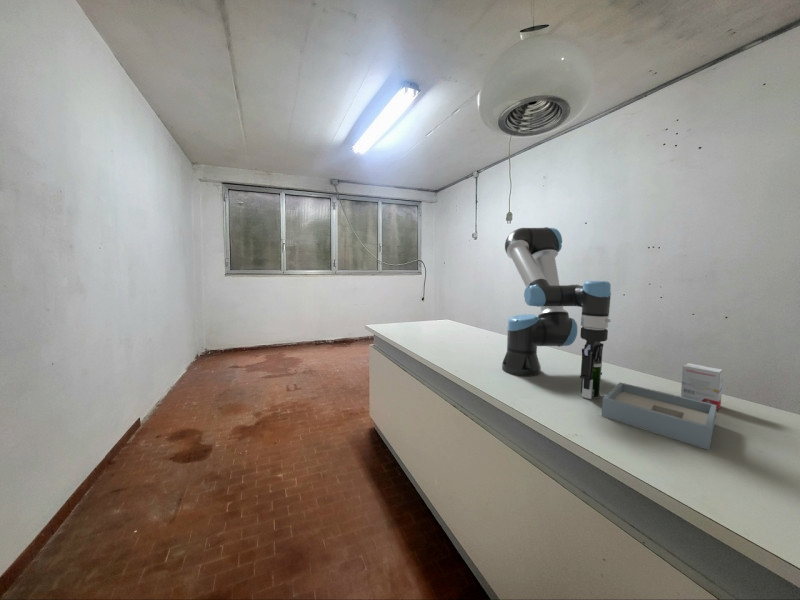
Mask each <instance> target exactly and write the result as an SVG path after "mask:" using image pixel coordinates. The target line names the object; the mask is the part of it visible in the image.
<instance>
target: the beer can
mask: <svg viewBox="0 0 800 600" xmlns="http://www.w3.org/2000/svg"><path fill="white" fill-rule="evenodd" d="M601 369H602V367H601V362H599V361H594V368H593V374H592V380H593V387H592V399H591V400H597V399H599V397H600V393H601V377H602V375H601V372H602V370H601ZM580 384H581V385H580V394H581V395H582V386H583V378H581V382H580Z"/></svg>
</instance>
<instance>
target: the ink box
mask: <svg viewBox="0 0 800 600" xmlns="http://www.w3.org/2000/svg"><path fill="white" fill-rule="evenodd" d="M681 373H682V374H681V388H680V389H681V390H680V397H684V398H689V399H693V400H697V401H701V402H706V403H710V404H714V405H717V406H716V410H719V409H720V407H721V404H722V395H723V393H722V392H723V383H724V369H721V368H715V367H710V366H705V365H702V364H695V363H689V362H687V363H685V364H684V365H682V372H681Z"/></svg>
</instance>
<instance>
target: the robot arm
mask: <svg viewBox="0 0 800 600" xmlns="http://www.w3.org/2000/svg"><path fill="white" fill-rule="evenodd" d="M562 243H563V237H562V234H561V232H560V231H559V230H558V229H557V228H555V227H548V226H545V227H520V228H519V227H518V228H517V229H515V230H513V231H512V232H511V233H509V235H508V236H507V238H506V239H505V243H504V251H505V253H506V255H507V257H508V258H509V259H512V261H513V263H514V265H515V268H516V270H517V272H518V274H519V275H520V278H521V280H522V281H523V284H524V285H525V289H524V293H523V297H524V302H525V304H526V305H527V306H529V307H538V308H540V312H539V313H538V315H536V314H525V313H524V314H519V315H518V314H517V315H513V316H511V317H510V318H509V319H508V321H507V329H506V330H507V340H506V342H507V344H506V353H505V355H504V357H503V361H502V363H501V368H502V370H503V372H505V373H507V374H508V373H509V374H512V375H514V376H515V375H516V376H519V377H535V376H538V375H541V364H540V361H539V357H538V354H537V353H538V347H566V346H571V345H572V344H574V342H575V340H576V339H577V336H578V324H577V321H576V320H575V319H574V318H571V317H570V316H569V312H568V311H567V310H565V309H564V307H580V308H581V318H580V320H581V321H580V325H581V327H580V339H582V340H585V341H586V342H585V344H584V345H583V346H584V347H583V348H581V366H580V367H581V368H580V375H579V378H580V379H582V378H583V386H582V394H581V397H583V398H585V399H588V400H593V399H592V387H593V380H592V374H593V368H594V361H599V362H601V376H603V372H602V365H603V364H602V363H603V351H604V342H606V341H607V340H608V336H609V335H608V334H609V330H608V329H607V328H608V327H609V323H611V319H609V317H610V316H609V315H610V306H611V296H612V290H611V283H610V282H609V281H606V280H603V281H602V280H586V281H584V282H583V285H579V284H566V285H563V284H561V285H560V280H559V279H560V278H559V274H558V268H557V260H556V257H558V255H559V252H560V251H561V250H562V247H563V245H562Z"/></svg>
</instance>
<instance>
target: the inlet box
mask: <svg viewBox="0 0 800 600" xmlns="http://www.w3.org/2000/svg"><path fill="white" fill-rule="evenodd" d="M716 406H717V405H714V404H710V403H706V402H701V401H697V400H693V399H689V398H684V397H681V395H680V396H679V395H676V394H671V393H667V392H662V391H658V390H654V389H649V388H645V387H641V386H637V385H633V384H629V383H626V382H625V383H624V382H621V381H619V382H618V383H617V385H615V386H614V387H613V388H612V389H611V390H610V391H609V392H608V393H607V394H605V395H604V396H603V397H602V406H601V417H604V418H607V419H609V420H613V421H616V422H618V423H623V424H626V425H629V426H632V427H635V428H638V429H642V430H645V431H647V432H650V433H654V434H657V435H660V436H664V437H666V438H669V439H673V440H676V441H679V442H682V443H685V444H687V445H688V444H689V445H691V446H696V447H698V448H701V449H705V450H707V451H710V449H711V448H710V447H711V442H712V438H713V433H714V428H715V424H716V423H715V421H716V413H717V409H716Z"/></svg>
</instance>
